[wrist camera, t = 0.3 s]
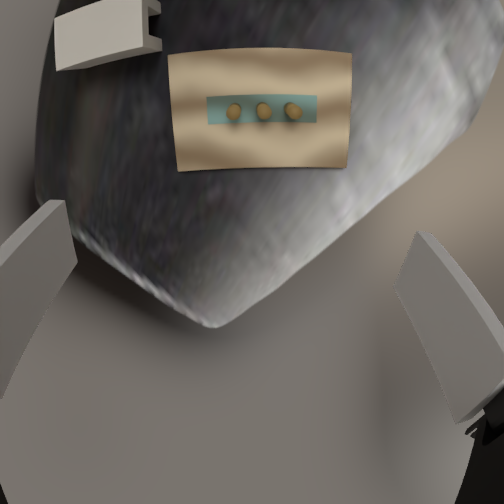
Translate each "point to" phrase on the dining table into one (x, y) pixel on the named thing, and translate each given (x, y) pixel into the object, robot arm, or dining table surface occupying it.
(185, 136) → the wooden peg board
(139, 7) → the white block
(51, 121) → the dining table surface
